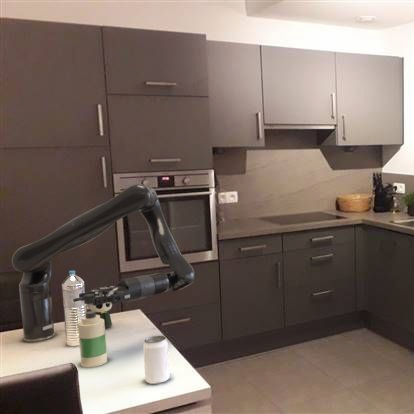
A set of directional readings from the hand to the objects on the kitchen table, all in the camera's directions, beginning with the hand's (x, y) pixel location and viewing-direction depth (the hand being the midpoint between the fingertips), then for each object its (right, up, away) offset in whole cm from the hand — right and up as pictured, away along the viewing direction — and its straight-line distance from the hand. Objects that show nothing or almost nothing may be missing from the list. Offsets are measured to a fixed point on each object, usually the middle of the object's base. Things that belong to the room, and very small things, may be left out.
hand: (86, 299), depth 165 cm
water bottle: (-13, -18, +20) cm, 30 cm away
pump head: (0, -3, 0) cm, 3 cm away
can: (+25, -21, -10) cm, 35 cm away
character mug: (-12, -17, +36) cm, 41 cm away
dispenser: (+1, -20, +3) cm, 20 cm away
